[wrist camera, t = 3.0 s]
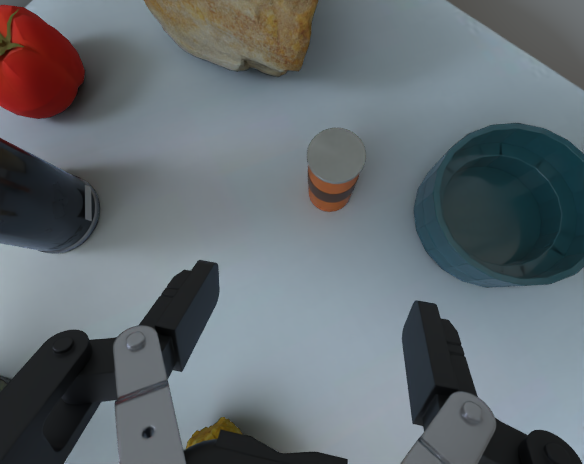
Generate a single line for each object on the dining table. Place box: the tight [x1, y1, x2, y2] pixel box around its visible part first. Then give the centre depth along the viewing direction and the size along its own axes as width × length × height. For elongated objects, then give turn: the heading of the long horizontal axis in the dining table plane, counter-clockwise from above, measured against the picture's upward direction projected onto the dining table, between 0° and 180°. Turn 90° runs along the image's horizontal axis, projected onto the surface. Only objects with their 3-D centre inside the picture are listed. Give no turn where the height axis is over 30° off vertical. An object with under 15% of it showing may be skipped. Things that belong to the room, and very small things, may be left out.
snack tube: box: [307, 128, 366, 212], centre depth 33 cm, size 5×5×10 cm
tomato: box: [0, 5, 85, 119], centre depth 38 cm, size 11×12×9 cm
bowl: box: [414, 123, 584, 288], centre depth 33 cm, size 15×15×6 cm
